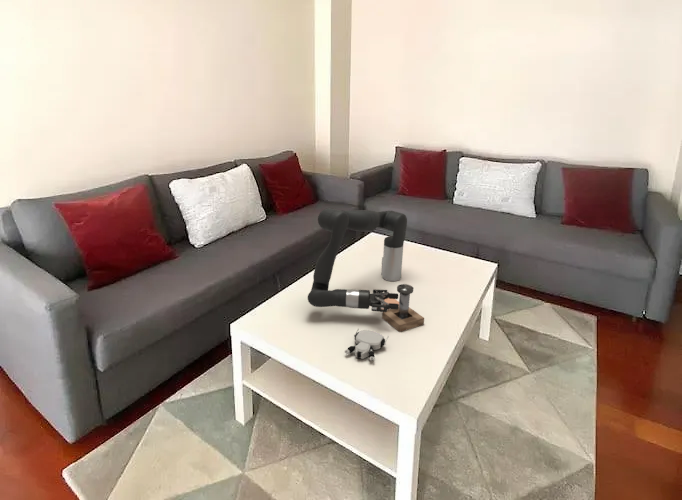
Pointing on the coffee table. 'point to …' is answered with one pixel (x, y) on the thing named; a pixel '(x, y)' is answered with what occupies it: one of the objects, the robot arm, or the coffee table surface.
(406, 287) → the peg
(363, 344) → the robot toy
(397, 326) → the collar
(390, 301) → the pad
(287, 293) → the coffee table surface
